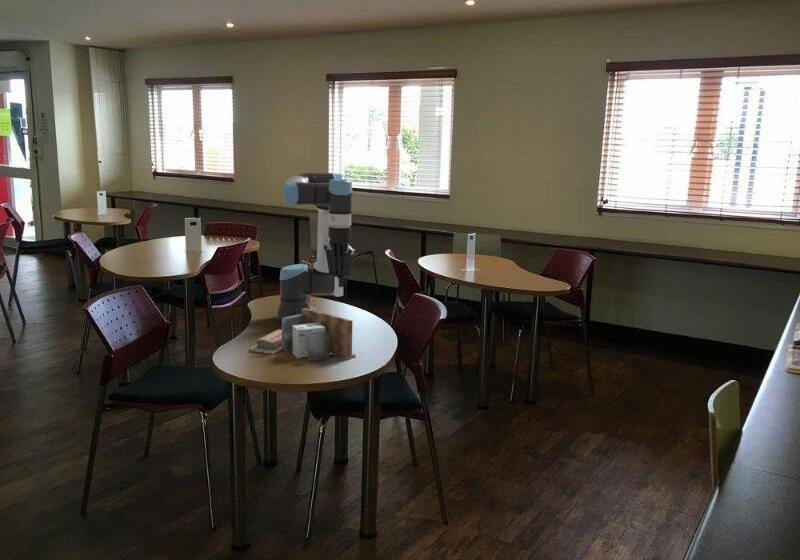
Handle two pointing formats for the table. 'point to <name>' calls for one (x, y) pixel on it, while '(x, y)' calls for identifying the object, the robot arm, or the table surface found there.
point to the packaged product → (269, 343)
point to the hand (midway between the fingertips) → (338, 295)
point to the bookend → (319, 346)
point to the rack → (333, 324)
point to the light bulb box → (304, 337)
